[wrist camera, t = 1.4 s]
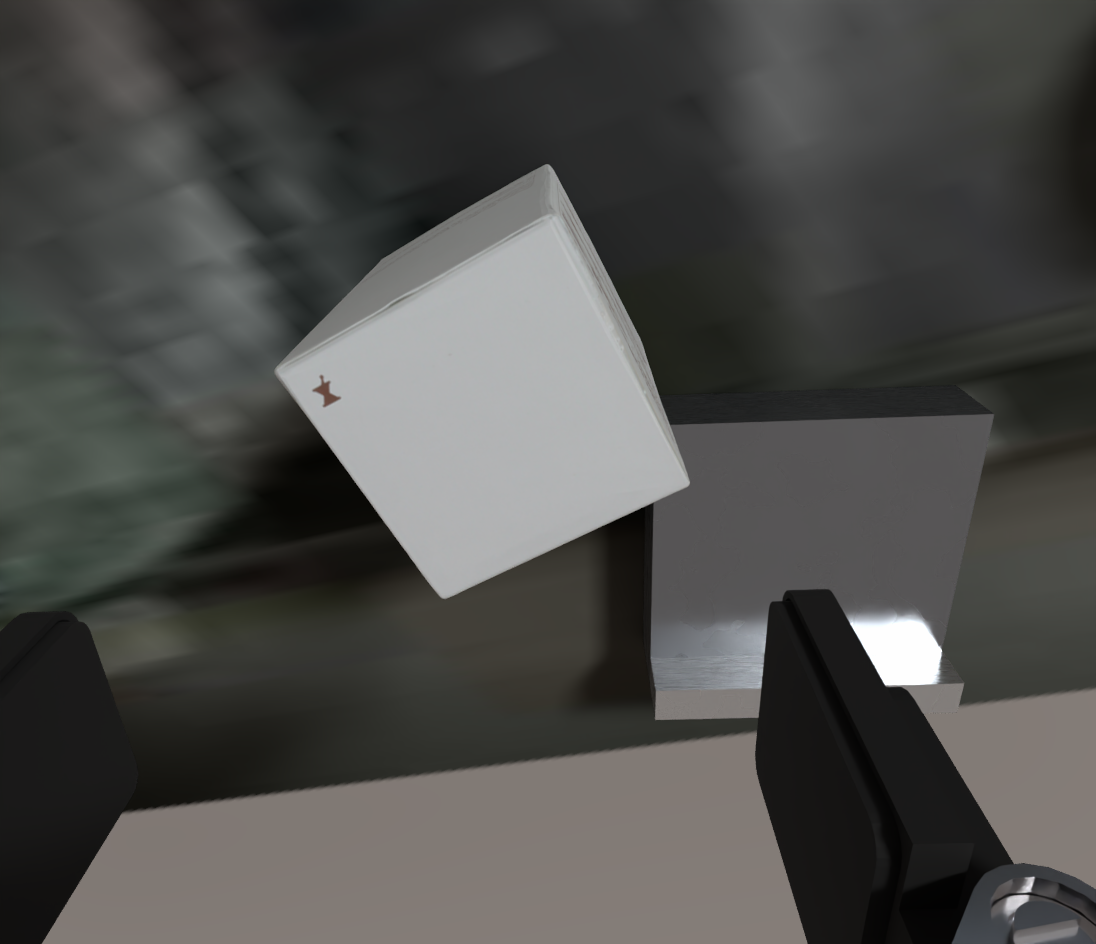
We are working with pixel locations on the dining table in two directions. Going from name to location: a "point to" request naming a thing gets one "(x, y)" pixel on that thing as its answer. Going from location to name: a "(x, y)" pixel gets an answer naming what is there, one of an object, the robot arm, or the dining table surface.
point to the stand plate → (809, 535)
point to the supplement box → (489, 389)
